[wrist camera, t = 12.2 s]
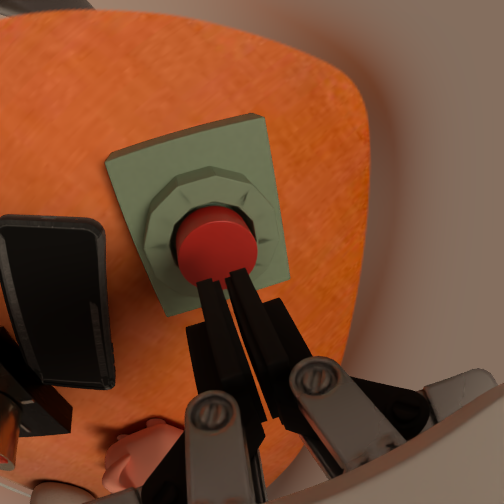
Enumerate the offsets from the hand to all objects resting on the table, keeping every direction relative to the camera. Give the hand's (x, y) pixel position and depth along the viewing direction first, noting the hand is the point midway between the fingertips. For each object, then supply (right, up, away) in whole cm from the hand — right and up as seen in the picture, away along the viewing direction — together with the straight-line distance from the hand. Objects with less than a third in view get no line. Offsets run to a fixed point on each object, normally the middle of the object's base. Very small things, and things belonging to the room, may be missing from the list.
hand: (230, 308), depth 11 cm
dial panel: (-21, -10, +10) cm, 25 cm away
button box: (-2, +4, +8) cm, 9 cm away
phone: (-13, -2, +9) cm, 16 cm away
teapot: (-9, -18, +19) cm, 28 cm away
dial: (-21, -11, +7) cm, 24 cm away
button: (-1, +2, +5) cm, 6 cm away
